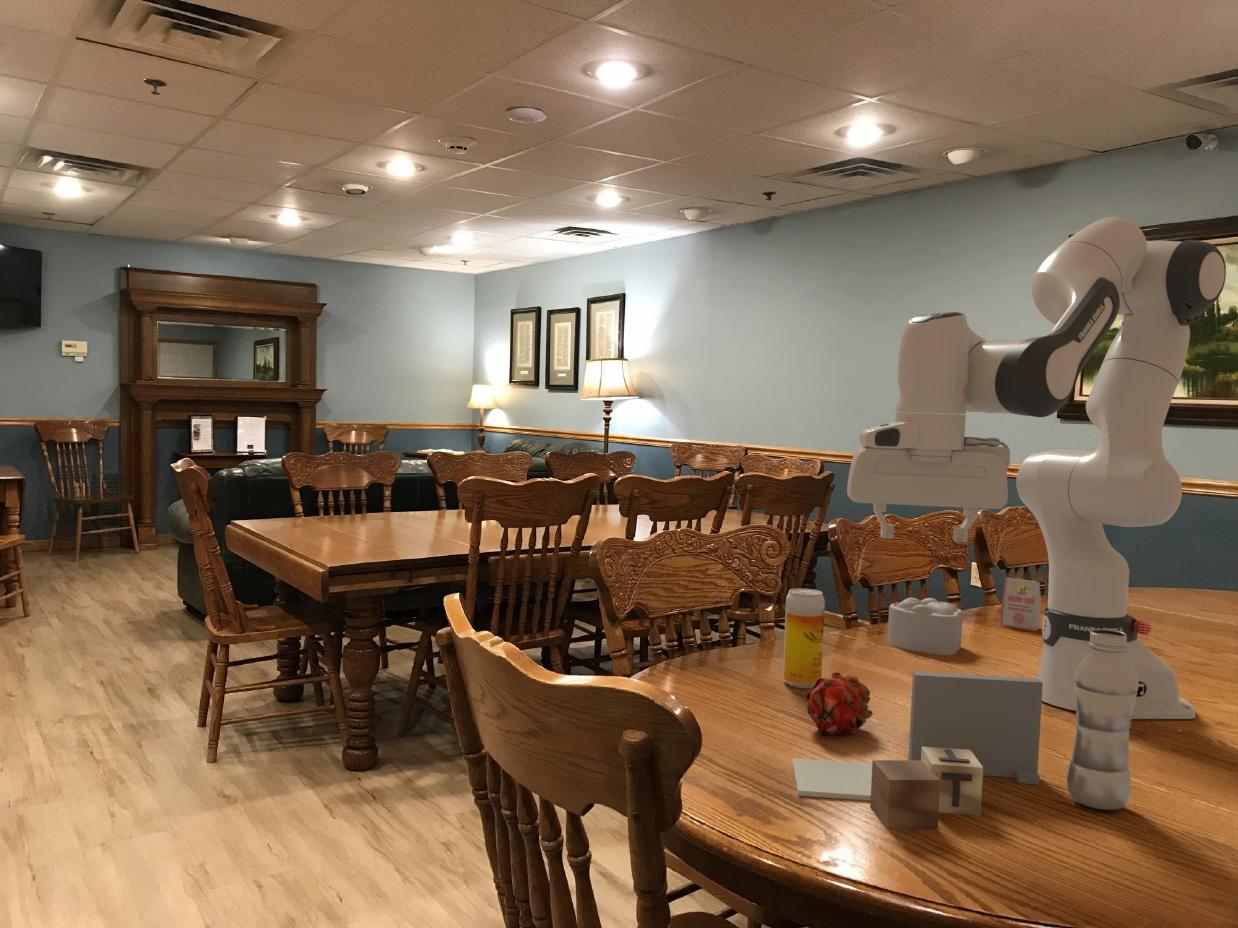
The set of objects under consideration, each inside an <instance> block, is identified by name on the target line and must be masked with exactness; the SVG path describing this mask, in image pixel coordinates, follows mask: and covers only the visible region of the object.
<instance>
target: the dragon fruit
mask: <svg viewBox="0 0 1238 928" xmlns="http://www.w3.org/2000/svg"><path fill="white" fill-rule="evenodd" d="M870 692H871V691H870V690H869V688H868V687H867V686H866V685H864V684H863V683H862V682H860V680H859V677H856V675H851V674H849V675H848V674H847V675H846V676H842V675H841V673H840V672H838V671H837V672H835V671H833V672H831V676H830V678H827V677H821V678H819V679H818V680H817V681H816V682H815V683H814V685H813V687H812V688H810V690H809V691H808V692H807V694H806V697H805V705H806V709H807V714H808V715H809V716H810V718H811V720H812V721H813V723H814V724H815V726H816V727H817V732H818V734H819V735H820V736H824V735H828V736H830V735H833V734H835V735H838V734H840V733H841V732H842V731H844V732H845V733H846V734H847V735H849V736H850V735H853V734H855V733H856V732H858V731H859V730H860V729H861V727H863V725H864V724H866V722H867V720H868V719H870V718H871V717H872V716H873V714H874V713H873V711H872V710H871V709H870V710H869V709H868V708H869V705H868V704H869V702H870V700H871V697H870V695H871V693H870Z"/></svg>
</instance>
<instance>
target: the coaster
mask: <svg viewBox="0 0 1238 928" xmlns="http://www.w3.org/2000/svg"><path fill="white" fill-rule="evenodd" d="M791 764H792V770H793V776H794V781H795V787H796V791H797V796H799V797H800V796H801V797H812V798H827V799H839V800H841V799H842V800H853V801H855V800H856V801H869V802H871V781H872V763H869V762H867V763H866V762H854V761H853V762H851V761H836V760H824V759H823V760H822V759H812V758H811V759H810V758H807V759H806V758H793V757H792V758H791Z"/></svg>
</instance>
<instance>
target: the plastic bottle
mask: <svg viewBox="0 0 1238 928" xmlns="http://www.w3.org/2000/svg"><path fill="white" fill-rule="evenodd" d="M1126 643H1127V636H1126V634H1125V633H1122V632H1119V631H1114V630H1106V629H1093V630H1091V632H1090V642H1089V647H1090V648H1092V649H1091V652H1090V653H1089V654H1088V655H1087V656H1086V657H1085V658H1084V659H1083V660H1082V662H1081V663H1080V664H1079V666H1078V667H1077V669H1076V672H1075V674H1074V683H1075V694H1076V706H1077V710H1076V711H1075V712H1076V717H1075V718H1076V725H1075V731H1076V732H1075V737H1074V743H1073V749H1072V754H1071V759H1070V762H1069V764H1068V768H1067V771H1066V772H1067V773H1066V776H1065V777H1066V785H1067V787H1066V788H1067V791H1068V793H1069V795H1070V797H1071V798H1072V799H1073V801H1075V802H1076V803H1078V804H1080V805H1083V806H1085V807H1088V808H1091V809H1098V810H1102V811H1103V810H1104V811H1116V810H1120V809H1122V808H1124V807H1125V806H1126V804H1127V803H1129V800H1130V796H1131V793H1132V776H1131V772H1130V769H1129V768H1130V765H1129V764H1130V763H1129V762H1130V760H1129V759H1130V756H1129V752H1130V751H1129V749H1130V748H1129V738H1130V729H1131V722H1132V719H1131V717H1132V712H1133V708H1134V704H1135V699H1136V695H1137V691H1138V685H1139V682H1138V678H1137V675H1136V673H1135V671H1134V669H1133V668H1132V666H1131V664H1130V663H1129V662H1128V660H1127V659H1126V658H1125V656H1124V652H1127V646H1126Z"/></svg>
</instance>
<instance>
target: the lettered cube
mask: <svg viewBox="0 0 1238 928" xmlns="http://www.w3.org/2000/svg"><path fill="white" fill-rule="evenodd" d="M921 761H922V762H923V763H924V764H925V765H926V766H927V767H928V768H929V769H930V770H931V771H932V772H933V773H934V774H935V775H936V776H937V777H938V778H939V779H940V797H939V813H941V814H954V815H965V816H967V815H968V816H969V815H970V816H981V814H982V813H981V812H982V800H983V799H982V795H983V779H984V778H983V777H984V776H983V767H982V765H981V764H980V762H979V761H978V760H977V758H976V757H975V755H974V754H973V753H972V751H971V750H967V749H952V748H937V747H922V749H921Z"/></svg>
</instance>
